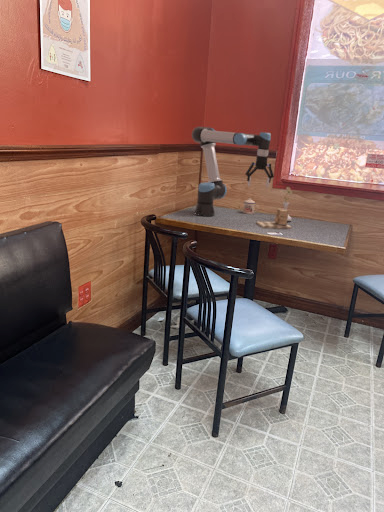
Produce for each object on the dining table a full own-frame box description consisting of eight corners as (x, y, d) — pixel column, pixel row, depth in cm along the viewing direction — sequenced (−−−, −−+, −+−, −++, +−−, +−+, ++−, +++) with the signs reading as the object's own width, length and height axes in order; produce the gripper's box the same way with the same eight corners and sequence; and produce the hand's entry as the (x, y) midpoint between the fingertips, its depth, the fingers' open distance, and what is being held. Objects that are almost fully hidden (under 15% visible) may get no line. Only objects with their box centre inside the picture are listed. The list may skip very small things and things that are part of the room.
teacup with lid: (241, 213, 315) (242, 198, 312) (244, 211, 323) (246, 197, 320) (256, 215, 311) (257, 200, 308) (258, 213, 319) (260, 198, 316)
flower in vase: (291, 223, 290) (296, 188, 283) (275, 221, 292) (280, 187, 284) (291, 219, 302) (295, 186, 295) (275, 218, 304) (280, 185, 297)
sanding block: (286, 225, 271) (288, 211, 268) (279, 225, 270) (281, 211, 267) (281, 222, 279) (283, 208, 276) (274, 222, 278) (276, 208, 276)
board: (262, 228, 266) (263, 225, 265) (256, 223, 279) (256, 221, 279) (291, 228, 269) (291, 226, 269) (283, 224, 283) (283, 222, 282)
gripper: (246, 154, 269) (242, 186, 275) (281, 157, 274) (276, 188, 280) (243, 153, 276) (239, 184, 282) (277, 156, 281) (272, 187, 287)
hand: (257, 186), depth 281 cm, fingers open, 13 cm apart
